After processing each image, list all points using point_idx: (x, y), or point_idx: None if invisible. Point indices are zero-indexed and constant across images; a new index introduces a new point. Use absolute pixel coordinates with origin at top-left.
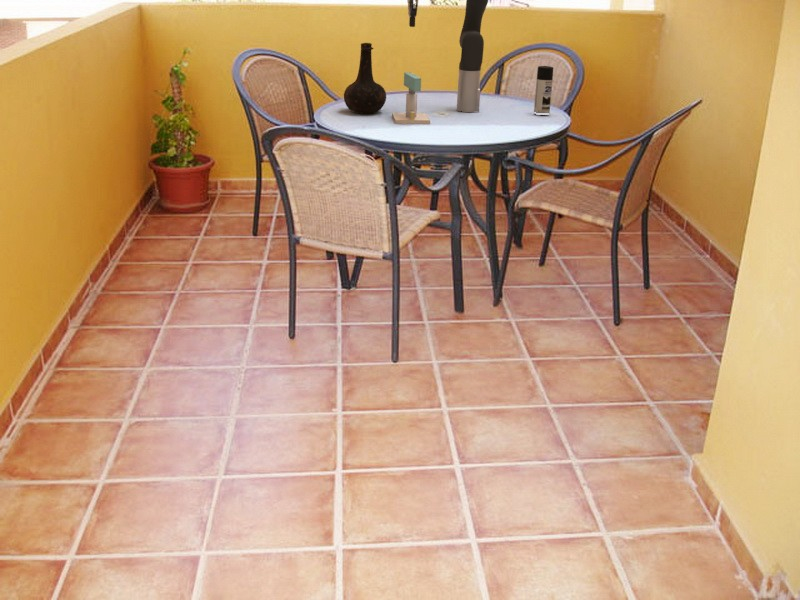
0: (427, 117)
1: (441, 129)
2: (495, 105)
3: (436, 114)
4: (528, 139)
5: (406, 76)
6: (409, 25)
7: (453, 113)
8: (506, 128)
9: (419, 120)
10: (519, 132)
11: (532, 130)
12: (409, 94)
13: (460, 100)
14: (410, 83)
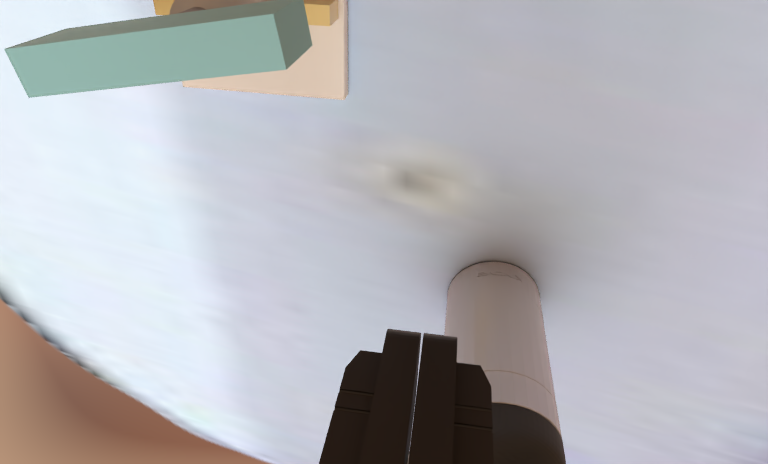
0: (246, 86)
1: (97, 106)
2: (588, 411)
3: (413, 157)
4: (43, 328)
5: (213, 18)
6: (412, 338)
7: (435, 232)
8: (179, 322)
9: None
10: (130, 337)
11: (169, 375)
12: (183, 9)
13: (469, 295)
14: (128, 25)
